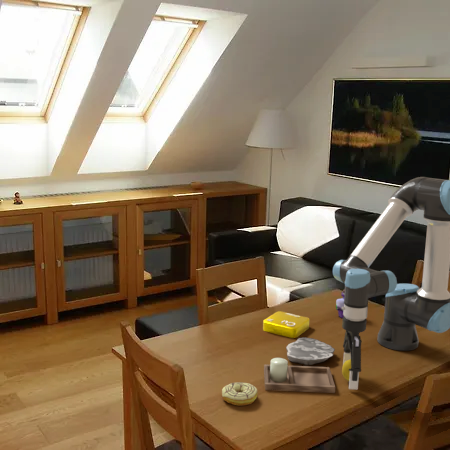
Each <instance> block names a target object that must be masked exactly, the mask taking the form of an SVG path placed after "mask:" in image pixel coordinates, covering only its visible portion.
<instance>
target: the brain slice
mask: <svg viewBox="0 0 450 450" xmlns="http://www.w3.org/2000/svg"><path fill="white" fill-rule="evenodd" d="M285 349H286V355H287V360H289V361H290V362H292V363H295V364H296V363H298V364H301V365H304V366H313V365H315V364H319V363H324V362H325V361H327V360H328V359H329V358H331V357H333V356H334V353H335V350H336V349H335V348H334V347H332V345H330V344H328V343H326V342H324V341H321V340H319V339H316V338H311V337H298V338H297V340H295V341H293V342H291V343H288V345H286V347H285Z"/></svg>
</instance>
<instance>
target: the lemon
mask: <svg viewBox="0 0 450 450" xmlns="http://www.w3.org/2000/svg"><path fill="white" fill-rule="evenodd" d="M349 369H351V359H350V360H347V361H346V362H345V363H344V364H343V363H342V369H341V374H342V376H343V379H345V381H348V382H349V378H350V371H349Z"/></svg>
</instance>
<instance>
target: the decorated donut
mask: <svg viewBox="0 0 450 450" xmlns="http://www.w3.org/2000/svg"><path fill="white" fill-rule="evenodd" d="M221 397H222V399H223V401H225V402H227V403H228V404H232V405H234V406H238V407H240V406H247V405H251V404H252V403H254V402H255V400H256V399H257V397H258V389H257V387H256V386H254V385H253V384H251V383H250V382H248V383H247V382H239V381H238V382H231V383H228V384H226V385H225V386H223V388H222V389H221Z"/></svg>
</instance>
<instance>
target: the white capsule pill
mask: <svg viewBox="0 0 450 450" xmlns="http://www.w3.org/2000/svg"><path fill="white" fill-rule="evenodd" d="M288 364H289V363H288V359H285V358H282V357H273V358H272V359H270V364H269V365H270V380H272V381H274V382H279V383H280V382H285V381H286V380H287V368H288V366H289V365H288Z"/></svg>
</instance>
